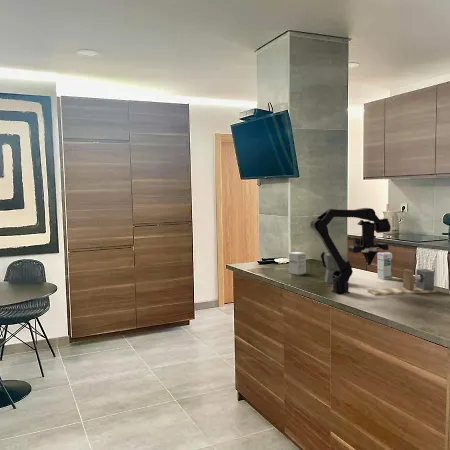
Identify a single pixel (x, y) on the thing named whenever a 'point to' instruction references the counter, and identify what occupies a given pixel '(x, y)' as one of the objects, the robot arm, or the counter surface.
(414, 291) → the birch base plate
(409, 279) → the wooden block with shaft
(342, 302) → the counter surface
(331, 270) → the coffeepot
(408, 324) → the counter surface
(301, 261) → the supplement box
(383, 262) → the syrup box
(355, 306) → the counter surface
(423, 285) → the bearing block
